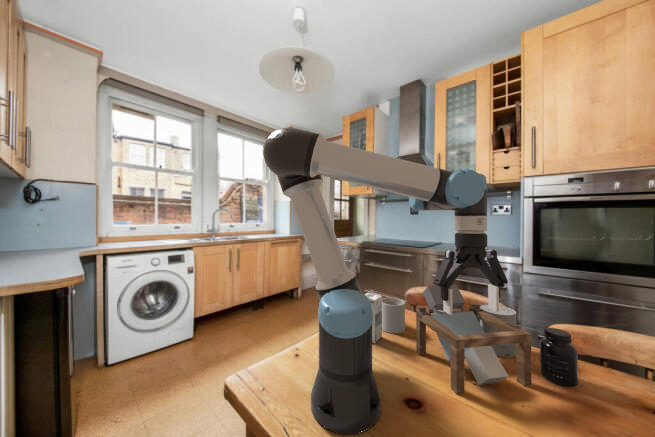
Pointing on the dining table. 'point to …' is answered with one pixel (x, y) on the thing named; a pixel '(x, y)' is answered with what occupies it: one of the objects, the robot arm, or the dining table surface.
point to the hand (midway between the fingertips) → (471, 311)
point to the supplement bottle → (559, 358)
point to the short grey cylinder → (507, 316)
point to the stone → (485, 365)
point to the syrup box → (376, 316)
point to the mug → (393, 315)
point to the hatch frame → (476, 343)
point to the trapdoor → (452, 316)
